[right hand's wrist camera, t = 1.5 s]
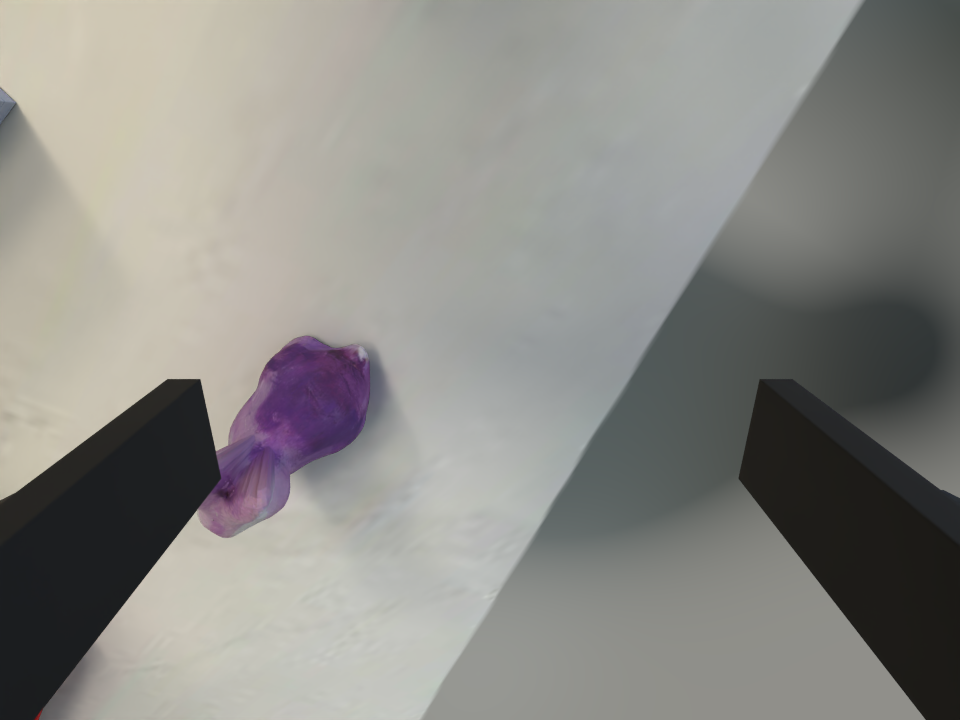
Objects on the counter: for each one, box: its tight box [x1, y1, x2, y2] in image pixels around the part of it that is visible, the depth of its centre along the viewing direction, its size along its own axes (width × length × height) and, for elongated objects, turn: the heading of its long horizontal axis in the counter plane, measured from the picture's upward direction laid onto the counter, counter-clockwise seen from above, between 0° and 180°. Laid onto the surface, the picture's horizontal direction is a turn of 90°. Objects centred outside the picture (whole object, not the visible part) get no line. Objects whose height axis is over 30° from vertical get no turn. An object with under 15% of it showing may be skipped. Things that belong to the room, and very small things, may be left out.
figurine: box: [197, 336, 370, 538], centre depth 34 cm, size 9×10×15 cm
